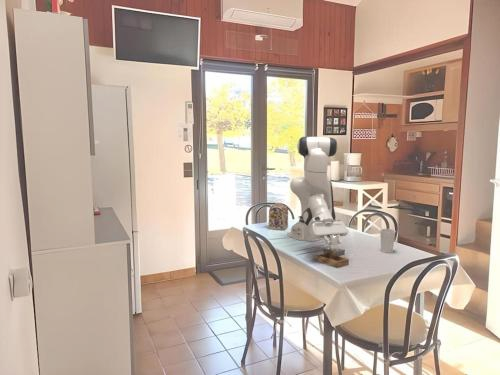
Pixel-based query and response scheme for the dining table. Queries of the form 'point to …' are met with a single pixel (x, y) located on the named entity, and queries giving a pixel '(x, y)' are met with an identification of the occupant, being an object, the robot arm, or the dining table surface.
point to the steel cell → (333, 244)
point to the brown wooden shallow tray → (333, 260)
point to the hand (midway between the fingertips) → (334, 243)
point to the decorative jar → (278, 217)
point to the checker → (339, 251)
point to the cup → (387, 240)
